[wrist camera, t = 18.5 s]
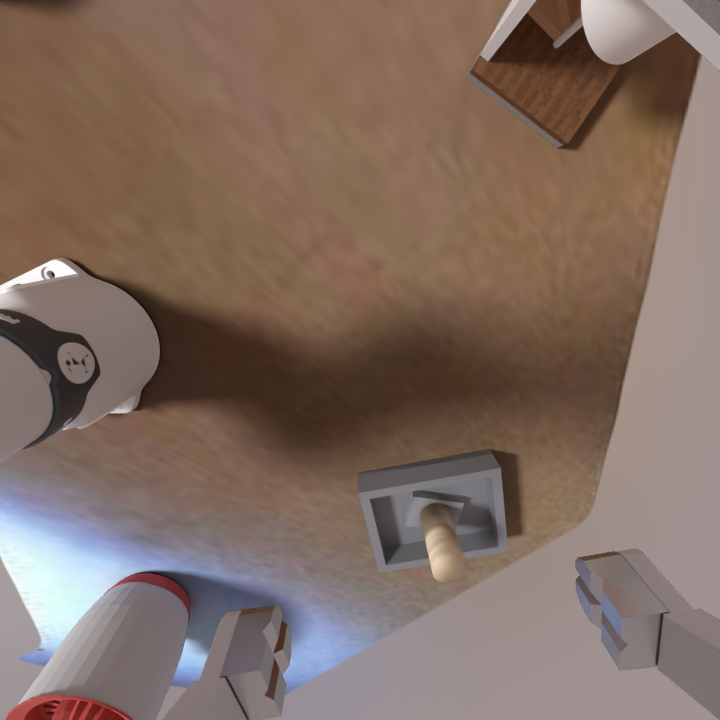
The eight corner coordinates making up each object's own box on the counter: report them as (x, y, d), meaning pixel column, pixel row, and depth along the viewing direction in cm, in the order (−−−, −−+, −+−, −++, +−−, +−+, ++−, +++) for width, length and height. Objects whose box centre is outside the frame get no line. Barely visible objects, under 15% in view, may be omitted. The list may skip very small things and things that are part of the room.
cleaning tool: (404, 517, 51) (415, 582, 42) (411, 489, 49) (424, 550, 40) (452, 523, 51) (473, 589, 42) (461, 495, 50) (485, 557, 40)
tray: (377, 549, 54) (378, 572, 50) (358, 473, 49) (358, 493, 46) (497, 528, 53) (508, 551, 49) (489, 449, 48) (500, 467, 45)
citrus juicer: (90, 621, 59) (-34, 806, 40) (114, 547, 53) (-16, 720, 35) (184, 648, 61) (109, 834, 42) (216, 579, 56) (146, 757, 37)
